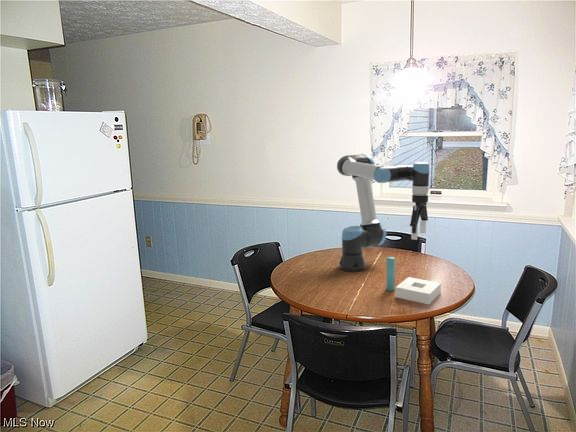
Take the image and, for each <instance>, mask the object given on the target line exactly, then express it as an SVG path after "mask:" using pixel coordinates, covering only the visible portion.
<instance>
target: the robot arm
mask: <svg viewBox="0 0 576 432" xmlns="http://www.w3.org/2000/svg"><path fill="white" fill-rule="evenodd" d="M336 170H337V171H338V173H339V174H340V175H342V176H345V177H352V180H353V181H355V186H356V193H357V199H358V205H359V210H360V217H361V223H359V224H360V225H352V226H350V225H349V226H347V227H345V228H344V229H343V230H342V232H341V233H342V234H341V246H342V247H341V249H342V250H341V254H342V255H341V257H340V260H339V263H338V267H339V269H340V270H341V271H346V272H352V273H353V272H361V271H363V270H366V268H367V264H366V261H365V257H364V253H363V252H364V251H363V250H364V249H367V248H371V247H377V246H381V245H382V244H384V242H385V241H386V238H387V231H386V228H385V226H383V225H382V224H381V221H380V220H378V219H377V212H376V206H375V201H374V200H375V199H374V194H373V188H372V181H371V180H374V181H375V182H376V183H378V184H386V183H393V182H401V181H403V182H404V181H409V182H412V189H411V193H412V195H411V202H412V203H414V204H415V205H413V206H412V211H411V217H410V223H409V227H411V237H410V238H411V240H415V241H417V240H418V229H419V233H420V234H426V231H427V221H428V220H429V218H428V208H427V203H428V202H429V190H430V188H429V185H430V184H429V182H430V171H431V170H430V163H428V161H427V162H424V161H417V162H413V164H412V165H411V164H410V165H408V164H398V165H394V166H385V165H378V164H376V163H375V160H374V158H373V156H371V155H370V154H364V153H362V154H361V153H360V154H351V155H349V154H348V155H344V156H342V157H340V158H339V160H338V161H337V163H336ZM419 220H420V221H419ZM419 223H420V225H419V227H418V224H419Z"/></svg>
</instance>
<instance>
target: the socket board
mask: <svg viewBox="0 0 576 432" xmlns="http://www.w3.org/2000/svg"><path fill="white" fill-rule="evenodd" d="M441 293H442V283H441V282H437V281H432V280H427V279H426V280H425V279H420V278H417V277H415V278H414V277H410V276H408V277H407V278H405V279H404V280H403V281H402V282H401V283H399V284H398V285H397V286H395V294H394V295H395V298H397V299H403V300H406V301H411V302H416V303H420V304H423V305H424V304H425V305H430V304H432V302H434V301H435V299H436V298H437V297H438V296H439V295H441Z"/></svg>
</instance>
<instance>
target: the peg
mask: <svg viewBox="0 0 576 432" xmlns="http://www.w3.org/2000/svg"><path fill="white" fill-rule="evenodd" d="M395 276H396V257H394V256H387V257H386V277H385V278H386V280H385V281H386V283H385V285H386V290H387V291H390V292H393V291H396V286H395V284H396V283H395V282H396V279H395V278H396V277H395Z"/></svg>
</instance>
